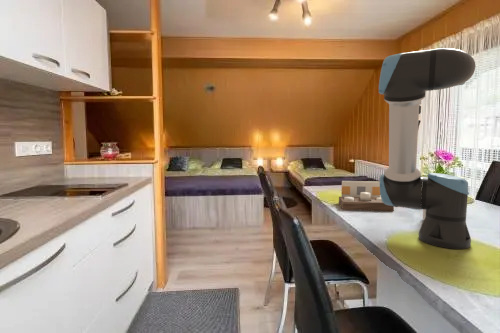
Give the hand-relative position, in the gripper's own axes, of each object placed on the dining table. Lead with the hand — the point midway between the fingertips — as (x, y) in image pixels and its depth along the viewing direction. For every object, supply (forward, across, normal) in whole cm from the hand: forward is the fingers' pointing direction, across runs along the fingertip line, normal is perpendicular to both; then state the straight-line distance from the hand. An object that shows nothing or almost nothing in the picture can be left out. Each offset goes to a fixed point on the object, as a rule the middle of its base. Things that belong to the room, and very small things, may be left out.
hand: (408, 157), depth 133 cm
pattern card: (+26, +21, +14) cm, 37 cm away
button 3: (+26, +12, +23) cm, 37 cm away
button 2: (+23, +12, +15) cm, 30 cm away
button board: (+27, +12, +15) cm, 33 cm away
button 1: (+26, +11, +7) cm, 29 cm away
